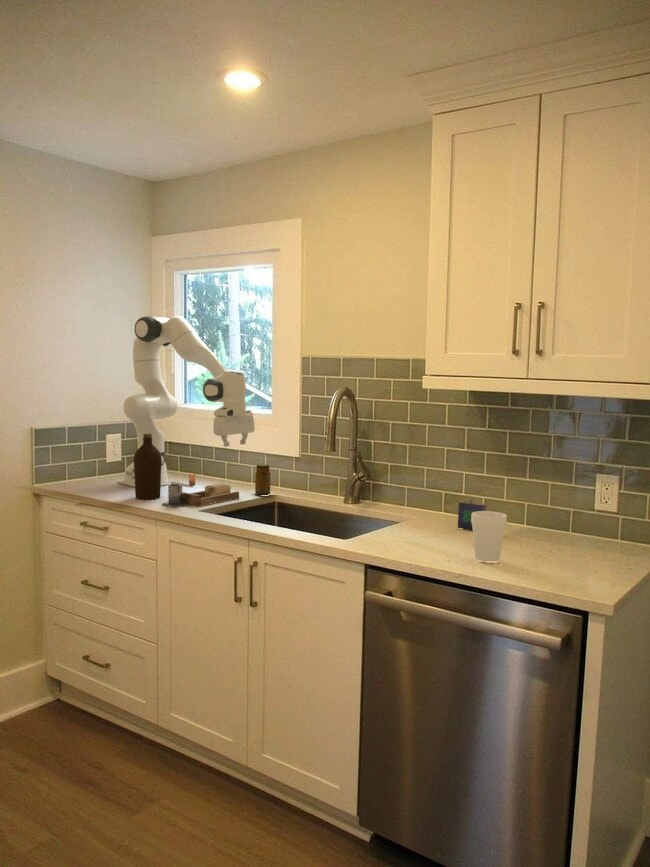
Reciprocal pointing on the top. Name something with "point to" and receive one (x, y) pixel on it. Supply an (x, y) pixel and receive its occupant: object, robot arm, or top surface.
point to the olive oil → (147, 470)
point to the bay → (206, 498)
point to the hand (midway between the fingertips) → (234, 445)
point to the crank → (191, 483)
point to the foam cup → (488, 534)
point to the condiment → (262, 480)
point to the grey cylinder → (175, 496)
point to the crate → (216, 489)
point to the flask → (468, 512)
